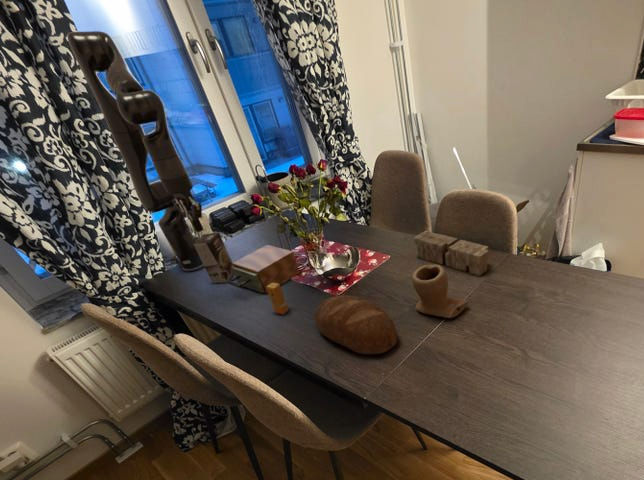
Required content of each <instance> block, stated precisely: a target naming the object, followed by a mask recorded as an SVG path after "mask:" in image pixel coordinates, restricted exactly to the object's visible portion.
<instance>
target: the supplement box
mask: <svg viewBox="0 0 644 480" xmlns="http://www.w3.org/2000/svg"><path fill="white" fill-rule="evenodd" d="M266 288H267V290H268V293H267V294H268V296H269V298H270V301H271V303H272V307H273V309H274V312H275V314H279V315H285V314H286V313H287V312H289V307H288V304H287V301H286V298H285V296H284V292H283V290H282V287H281V285H280V284H277V283H271V284H269V285H268V286H267V287H266Z"/></svg>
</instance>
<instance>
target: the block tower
mask: <svg viewBox="0 0 644 480" xmlns="http://www.w3.org/2000/svg"><path fill="white" fill-rule="evenodd" d="M413 243H414V245H416V246H417V257H418V258H420V259H422V260H426V261H428V262H432V263H437V264H438V265H444V264H445V266H446V267H449V268H453V269H456V270H457V271H458V270H459V271H463V272H467V271H468V273H469V274H470V275H475V276H477V277H480V276H482V275H483V274H484V273H485V272H487V271H488V261H489V246H487V245H483V244H480V243H476V242H472V241H467V240H464V239H460V240H458V238H457V237H453V236H449V235H446V234H440V233H436V232H432V231H430V230H428V229H426V230H424V231H423V232H420V233H419V234H417V235H416V236H414V237H413Z"/></svg>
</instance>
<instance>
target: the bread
mask: <svg viewBox="0 0 644 480" xmlns="http://www.w3.org/2000/svg"><path fill="white" fill-rule="evenodd" d="M314 321H315V326H316V327H317V329H318V331H319V332H320V333H321V334H322V335H323V336H324V337H325V338H327V339H328V340H330V341H332V342H334V343H336V344H338V345H340V346H343V347H345V348H347V349H348V350H351V351H353V352H354V353H357V354H362V355H380V354H384V353H387V352H388V351H389V350H391V349H392V348H393V347H395V345H396V344H397V341H398V332H397V327H396V326H395V323H394V322H393V319H391V317H390V315H389V314H388V313H387V312H386V311H385V310H383V309H382V308H381V307H380V306H379V305H377V304H376V303H374V302H372V301H370V300H367V299H365V298H363V297H360V296H356V295H347V294H341V295H334V296H331V297H329V298H327V299H324V301H322V302H321V303H320V304H319V306H318V307H317V308H316V311H315V312H314Z"/></svg>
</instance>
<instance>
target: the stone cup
mask: <svg viewBox="0 0 644 480" xmlns="http://www.w3.org/2000/svg"><path fill="white" fill-rule="evenodd" d="M411 283H412V285H413V288H414V290H415V292H416V294H417V295H418V297H419V298H420V299H419V300H418V301H417V302H416V304H415V310H416V311H417V312H419V313H422V314H425V315H428V316H429V315H430V316H435V317H439V318H440V317H441V318H446V319H452V318H455V317H457V316H459V314H461V313H462V312H463V311H464V310H465V309H466V308H467V306H468V304H469V301H468V300H466V299H460V298H457V297H451V296H448V289H449V278H448V273H447V271H446V269H445V268H444V267H443V266H441V264H425V265H422V266H420V267H418V268H416V269H415V270H414V271H413V273H412V276H411Z"/></svg>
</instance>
